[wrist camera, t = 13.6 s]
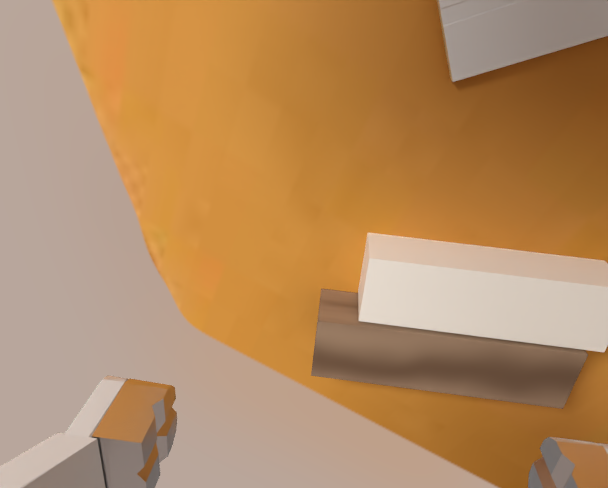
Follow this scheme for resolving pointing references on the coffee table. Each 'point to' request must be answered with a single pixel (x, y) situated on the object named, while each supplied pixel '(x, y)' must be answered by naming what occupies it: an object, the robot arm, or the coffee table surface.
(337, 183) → the coffee table surface
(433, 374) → the brown wooden block
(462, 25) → the baseboard molding
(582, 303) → the cream floor plank
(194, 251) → the coffee table surface
